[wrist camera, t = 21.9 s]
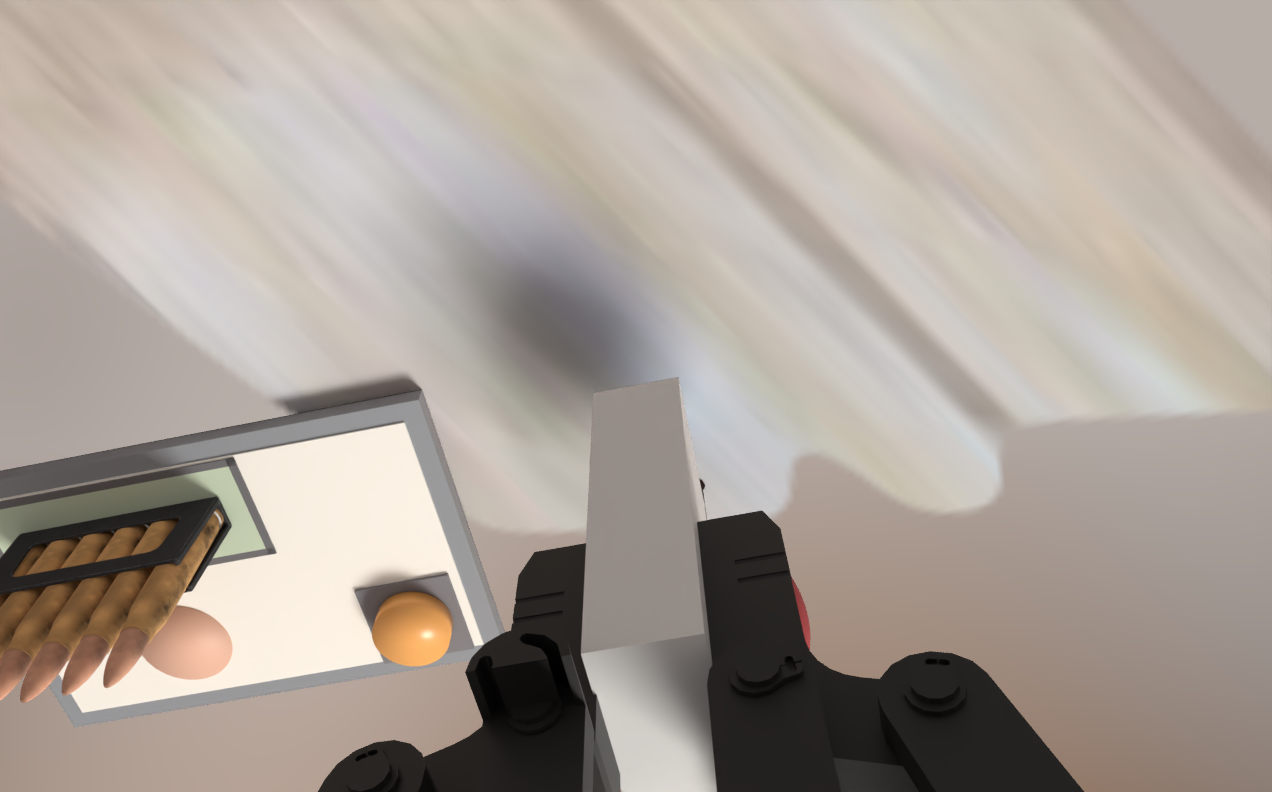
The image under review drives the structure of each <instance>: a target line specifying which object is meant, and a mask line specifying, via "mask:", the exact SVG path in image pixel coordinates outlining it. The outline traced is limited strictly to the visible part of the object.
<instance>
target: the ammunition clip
mask: <svg viewBox="0 0 1272 792" xmlns="http://www.w3.org/2000/svg"><path fill="white" fill-rule="evenodd" d="M231 527H232V524H231V522H230V520H229V518H228V516H227V514H226V512H225V510H224V507H223V505H222V503H221V501H220V499H219V498H218V497H217V496H216V497H210V498H205V499H200V500H195V501H189V502H184V503H179V504H174V505H168V506H163V507H158V508H153V509H147V510H142V511H137V512H132V513H126V514H121V515H116V516H111V517H106V518H100V519H95V520H90V521H85V522H79V523H74V524H69V525H64V526H58V527H53V528H48V529H43V530H37V531H32V532H27V533H22V534H20V535H18V537H17V538H16V539H15V540H14V541H13V543H12V544H11V545H10V546H9V548H8V549H7V550H6V552H5V553H4V554H3V555H2V557H1V558H0V700H1V699H3V698H4V697H5V696H6V695H7V694H8V693H9V692H10V691H11V690H12V689H13V688H14V687H15V686H16V685H17V684H18V683H19V682H20V680H21V679H22V678H23V676H24V675H25V674H26V676H25V679H24V681H23V685H22V688H21V695H20V700H21V702H22V703H25V702H28V701H30V700H31V699H33V698H35V697H36V696H37V695H38V694H40V693H41V692H42V691H43V690H44V689H45V688H47V687H48V686H49V685H50V684H51V682H52V681H53V680H54V679H55V678H56V677H57V675H58V674H59V673H60V671H61V670H62V669H63V667H64V666H65V664H66V663H67V661H69V660H70V661H69V663H68V665H67V667H66V670H65V673H64V677H63V681H62V694H63V695H64V696H66V695H69V694H70V693H72V692H74V691H75V690H77V689H78V688H79V687H80V686H81V685H83V684H84V683H85V682H86V681H87V680H88V679H89V678H90V677H91V676H92V674H93V673H94V672H95V671H96V669H97V668H98V667H99V665H100V664H101V663H102V661H103V660H104V658H105V656H106V655H107V654H108V653H109V652H110V650H111V649H112V650H111V652H110V655H109V657H108V660H107V663H106V666H105V670H104V676H103V685H104V687H105V688H110V687H111V686H113V685H115V684H116V683H118V682H119V681H120V680H121V679H122V678H123V677H124V676H125V675H126V674H127V673H128V672H129V671H130V670H131V669H132V668H133V666H134V665H135V664H136V662H137V661H138V660H139V658H140V657H141V656H142V654H143V652H144V651H145V649H146V647H147V646H148V645H149V644H150V642H151V641H152V639H153V638H154V636H155V635H156V634H157V632H158V631H159V630H160V629H161V628H162V627H163V626H164V625H165V624H166V622H167V621H168V619H169V618H170V616H171V614H172V612H173V611H174V609H175V607H176V605H177V604H178V602H179V600H180V598H181V597H182V595H183V593H186V592H191V591H193V589H194V588H195V586H196V585H197V583H198V581H199V580H200V578H201V576H202V575H203V573H204V571H205V570H206V568H207V567H208V565H209V563H210V562H211V560H212V558H213V557H214V555H215V553H216V552H217V550H218V548H219V547H220V545H221V544H222V542H223V540H224V539H225V537H226V535H227V534H228V532H229V530H230V529H231ZM112 647H113V648H112ZM26 672H27V673H26Z"/></svg>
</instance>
